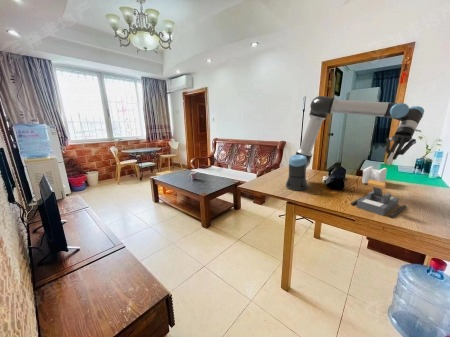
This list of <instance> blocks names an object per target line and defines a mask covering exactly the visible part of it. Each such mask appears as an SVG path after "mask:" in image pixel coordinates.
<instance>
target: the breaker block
mask: <svg viewBox="0 0 450 337" xmlns="http://www.w3.org/2000/svg"><path fill="white" fill-rule="evenodd" d="M366 195H367V196H366V197H364V198H362V199H360V200H358V201H357V203H356V208H358V209H361V210H363V211H367V212H370V213H373V214H376V215H379V216H385V215H386V214H388V213H389V212H390V211H391V210H393V209H395V208H396V207H397V206H399V203H400V198H399V197H394V196H392V193H385V194H383V195H384V196H382V197H381V199H379V198H375V197H374V189H373V190H372V191H370V192H368V193H367V194H366Z"/></svg>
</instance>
